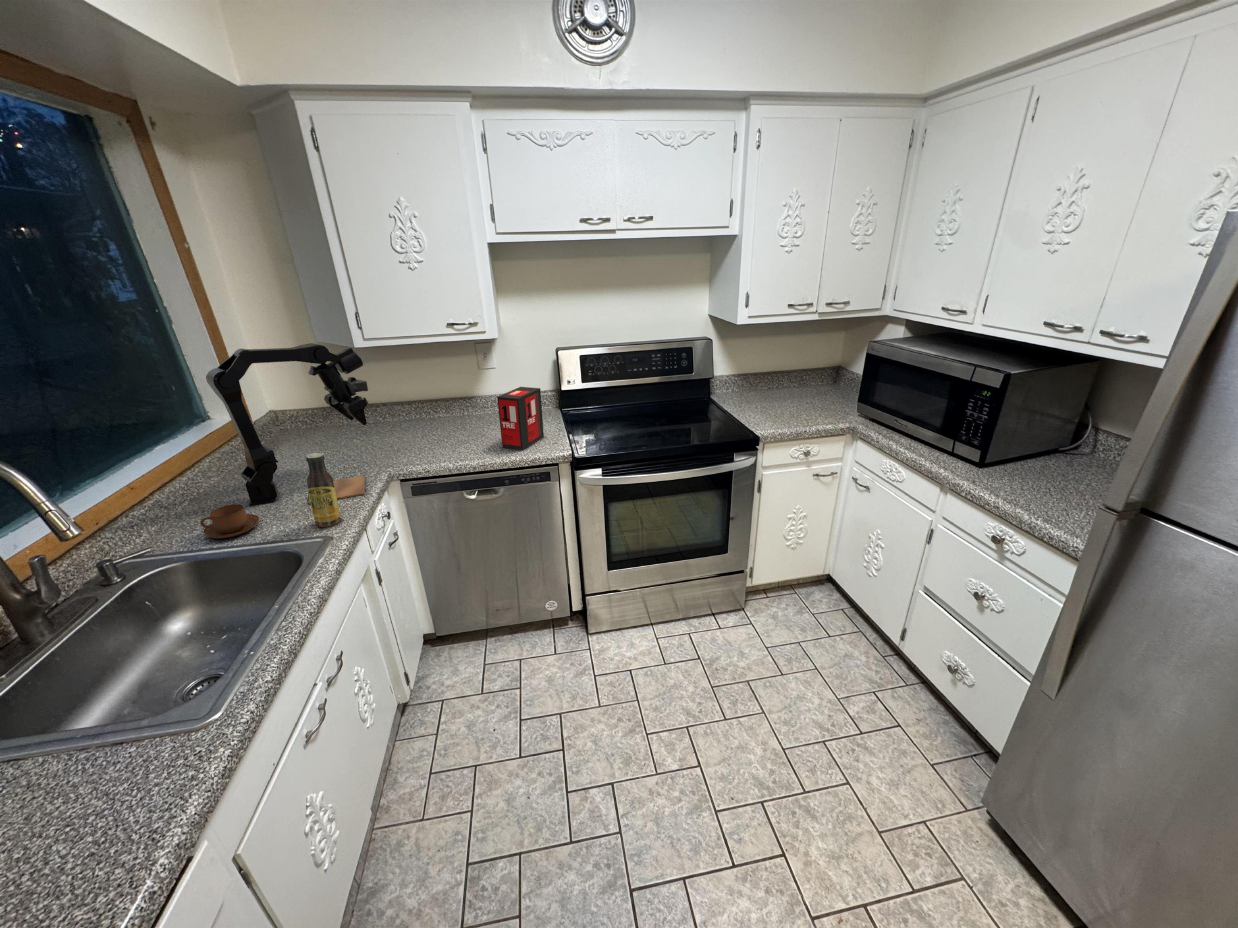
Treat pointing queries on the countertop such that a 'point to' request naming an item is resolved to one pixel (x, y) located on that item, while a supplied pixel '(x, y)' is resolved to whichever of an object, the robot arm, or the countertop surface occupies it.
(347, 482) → the cork mat
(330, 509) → the sauce bottle
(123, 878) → the countertop surface
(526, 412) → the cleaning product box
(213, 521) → the cup and saucer
